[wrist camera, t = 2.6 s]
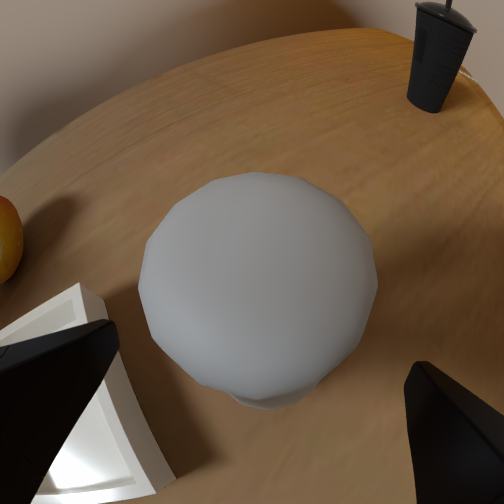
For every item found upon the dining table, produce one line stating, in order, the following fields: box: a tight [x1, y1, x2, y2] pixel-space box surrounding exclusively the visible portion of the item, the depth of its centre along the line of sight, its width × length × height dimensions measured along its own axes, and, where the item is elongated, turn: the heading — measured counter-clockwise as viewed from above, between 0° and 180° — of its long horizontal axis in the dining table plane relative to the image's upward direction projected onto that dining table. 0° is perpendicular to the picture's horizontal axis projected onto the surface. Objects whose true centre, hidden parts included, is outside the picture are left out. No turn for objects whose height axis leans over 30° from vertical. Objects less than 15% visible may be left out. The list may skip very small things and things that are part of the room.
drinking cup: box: [407, 0, 477, 113], centre depth 19 cm, size 8×8×20 cm
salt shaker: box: [138, 172, 378, 411], centre depth 10 cm, size 6×6×13 cm
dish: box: [0, 283, 176, 504], centre depth 13 cm, size 13×13×3 cm
